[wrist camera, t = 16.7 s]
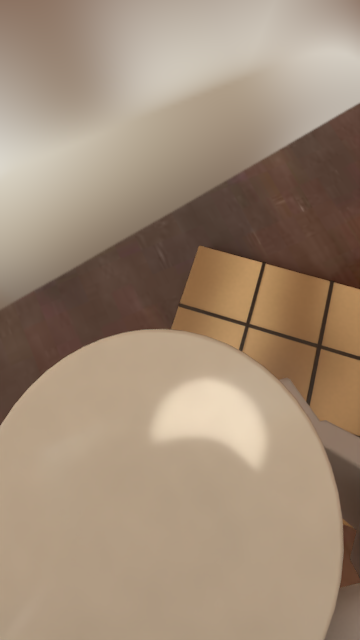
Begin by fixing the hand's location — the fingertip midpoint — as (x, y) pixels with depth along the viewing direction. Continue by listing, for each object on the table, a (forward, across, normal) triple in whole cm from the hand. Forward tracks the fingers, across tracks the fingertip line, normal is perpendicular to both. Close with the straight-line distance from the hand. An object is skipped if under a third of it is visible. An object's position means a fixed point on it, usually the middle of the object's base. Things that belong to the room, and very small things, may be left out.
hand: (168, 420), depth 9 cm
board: (+9, -7, +8) cm, 14 cm away
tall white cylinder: (+4, 0, +5) cm, 7 cm away
